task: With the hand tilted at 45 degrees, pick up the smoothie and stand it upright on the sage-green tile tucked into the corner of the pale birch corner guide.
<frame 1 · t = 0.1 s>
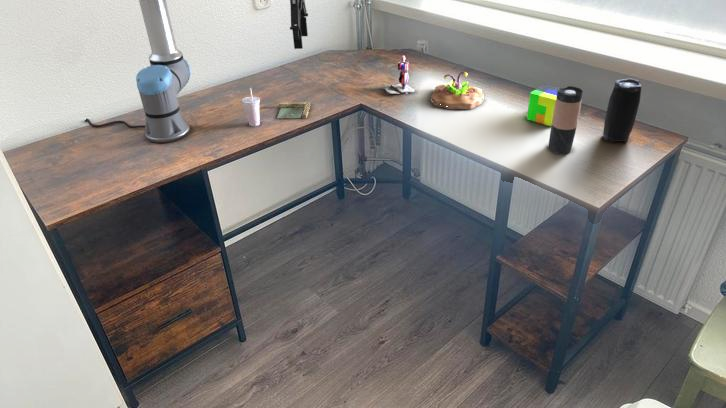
hand: (301, 42, 191), 28 cm above the table, tool pointing down, fingers open, 13 cm apart
travel mug: (559, 149, 179), on the table
portable speaker: (615, 138, 184), on the table
corner guide: (290, 113, 209), on the table
puzzle toy: (546, 118, 198), on the table
plant: (457, 99, 215), on the table
statue: (398, 91, 224), on the table
smoothie: (254, 124, 202), on the table
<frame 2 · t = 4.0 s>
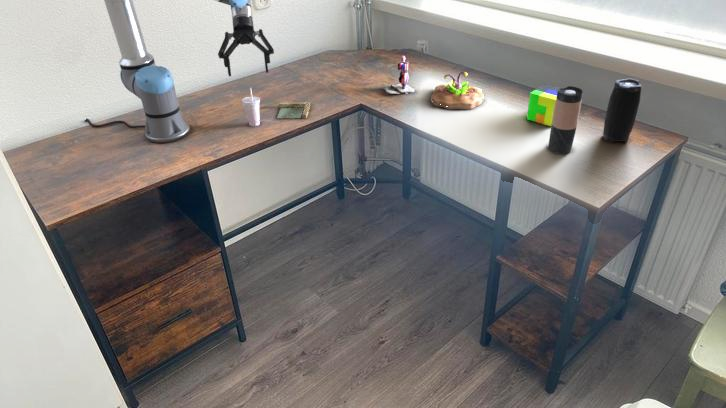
hand: (248, 73, 202), 16 cm above the table, tool tilted 45°, fingers open, 13 cm apart
nothing on the table moved.
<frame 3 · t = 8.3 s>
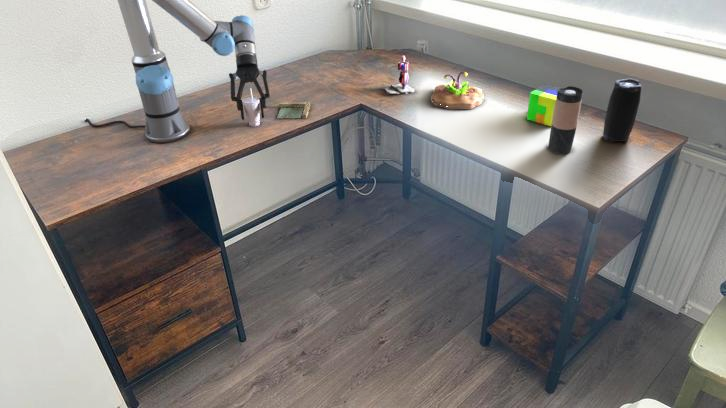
hand: (252, 117, 197), 4 cm above the table, tool tilted 45°, fingers closed on smoothie, 6 cm apart
smoothie: (254, 124, 202), on the table, touching gripper
everything else where it was.
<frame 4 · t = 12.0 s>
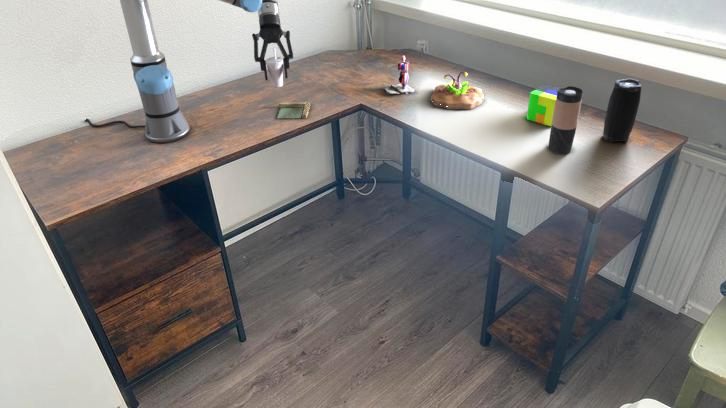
hand: (276, 77, 195), 17 cm above the table, tool tilted 45°, fingers closed on smoothie, 6 cm apart
smoothie: (277, 86, 201), point 12 cm above the table, touching gripper
everything else where it was.
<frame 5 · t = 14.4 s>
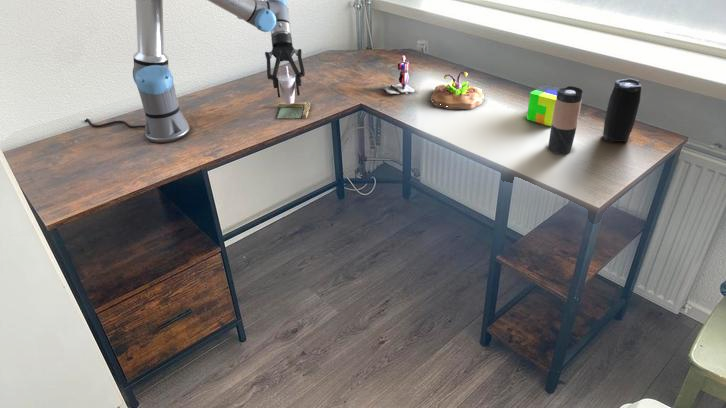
hand: (288, 94, 201), 9 cm above the table, tool tilted 45°, fingers closed on smoothie, 6 cm apart
smoothie: (289, 102, 207), point 4 cm above the table, touching gripper
everything else where it was.
when the fingers open (5 cm above the table, at t = 16.1 s): smoothie stays where it is, resting on corner guide.
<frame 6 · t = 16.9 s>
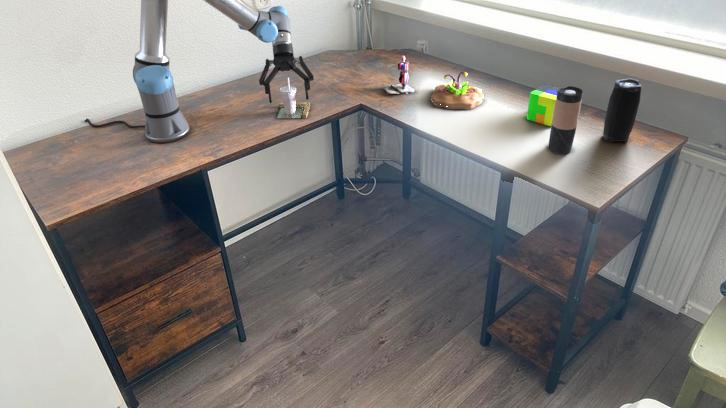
hand: (289, 99, 204), 6 cm above the table, tool tilted 45°, fingers open, 13 cm apart
smoothie: (290, 113, 209), resting on corner guide
everything else where it was.
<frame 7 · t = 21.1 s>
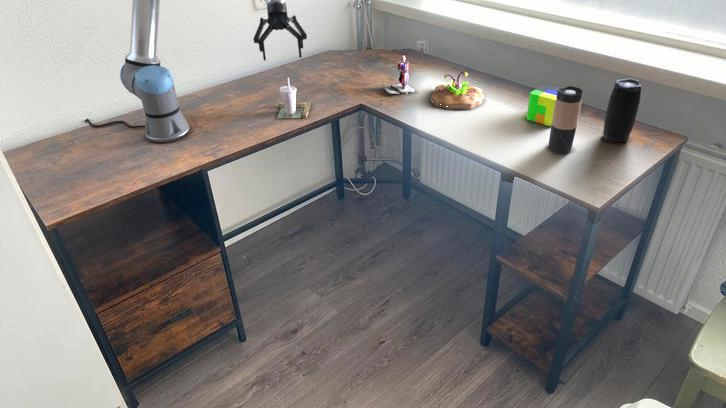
hand: (282, 57, 209), 18 cm above the table, tool tilted 45°, fingers open, 13 cm apart
nothing on the table moved.
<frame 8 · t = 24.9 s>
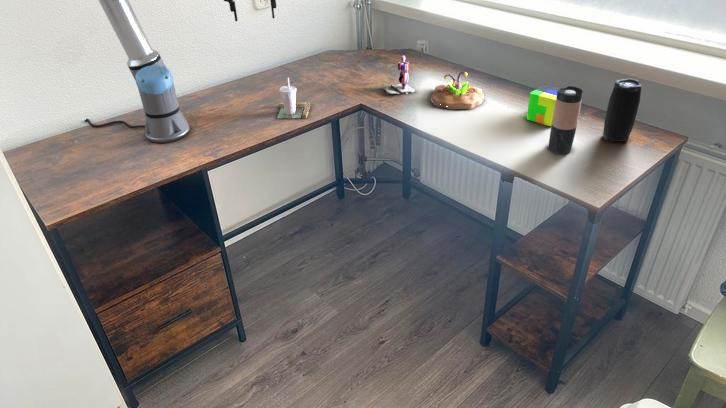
hand: (255, 18, 204), 32 cm above the table, tool pointing down, fingers open, 13 cm apart
nothing on the table moved.
at the end: smoothie 0.1 cm off-centre on the corner guide, point 0.0 cm above the corner guide's base; smoothie tilted 0°; the gripper is holding nothing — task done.
